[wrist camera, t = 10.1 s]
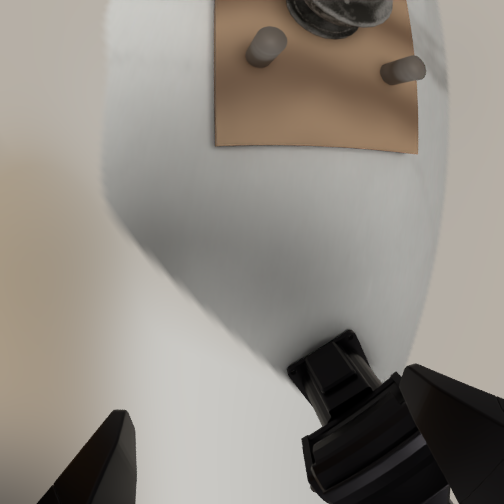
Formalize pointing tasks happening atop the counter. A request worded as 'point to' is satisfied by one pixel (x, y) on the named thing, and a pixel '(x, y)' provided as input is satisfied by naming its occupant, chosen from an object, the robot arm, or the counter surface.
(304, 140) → the peg board
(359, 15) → the dark grey turned piece
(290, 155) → the counter surface
